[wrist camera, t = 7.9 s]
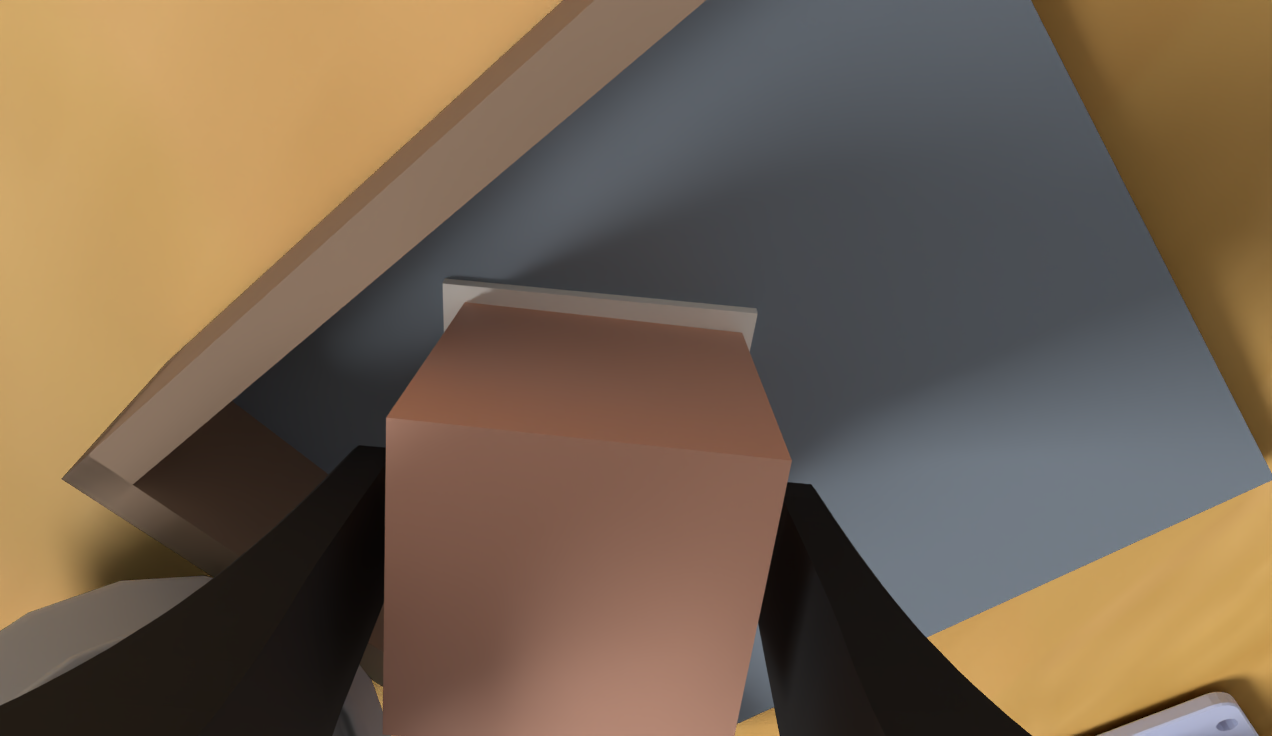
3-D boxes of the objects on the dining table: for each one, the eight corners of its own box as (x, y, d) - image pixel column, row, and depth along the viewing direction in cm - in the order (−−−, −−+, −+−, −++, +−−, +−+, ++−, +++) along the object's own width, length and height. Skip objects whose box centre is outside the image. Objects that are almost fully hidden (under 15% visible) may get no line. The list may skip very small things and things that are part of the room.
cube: (701, 564, 17) (727, 764, 12) (453, 540, 16) (382, 733, 12) (742, 332, 15) (791, 460, 10) (465, 301, 15) (386, 417, 10)
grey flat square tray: (1255, 460, 17) (1380, 587, 14) (662, 737, 23) (665, 869, 20) (872, -283, 11) (959, -326, 8) (166, 362, 16) (61, 478, 13)
